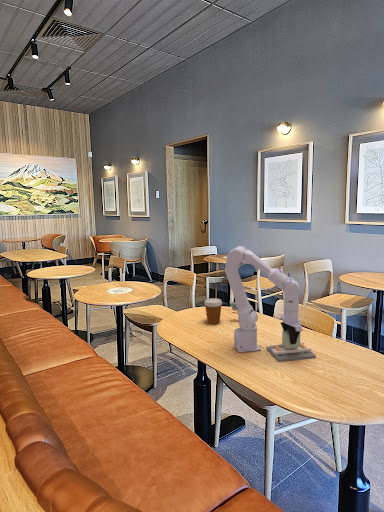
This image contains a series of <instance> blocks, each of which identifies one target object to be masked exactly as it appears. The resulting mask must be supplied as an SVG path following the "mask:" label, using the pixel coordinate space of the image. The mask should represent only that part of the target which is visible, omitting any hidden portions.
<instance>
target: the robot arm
mask: <svg viewBox="0 0 384 512" xmlns="http://www.w3.org/2000/svg"><path fill="white" fill-rule="evenodd" d="M225 261H226V262H225V266H224V272H225V274H226V277H227V280H228V284H229V286H230V289H231V292H232V294H233V298H234V300H235V302H236V304H237V305H236V306H237V307H238V311H237V312H238V313H237V316H239V320H238V325H239V327H237V328H235V329H234V332H233V335H234V336H233V338H234V340H233V342H234V343H233V346H234V348H236V351H238V353H243V352H244V353H245V352H255V351H261V348H260V346H259V345H258V325H257V324H256V322H257V321H258V320H259V319H258V313H257V312H256V311H255V310H254V308H253V306H252V305H251V303H250V302H249V299H248V296H247V292H246V290H245V287H244V285H243V281H242V278H241V276H240V273H239V271H238V269H239V268H240V266H241V265H242V264H244V265H245V264H246V265H247V264H249V265H252V266H254V267H255V268H256V269H258V270H260V271H261V272H262V273H263V274H265V275H266V276H267V280H268V281H270V282H271V283H272V284H274V285H275V286H276V287H277V288H279V289H280V290H282V293H283V294H284V298H283V314H281V316H280V318H281V319H280V320H282V321H281V322H280V325H281V327H282V331H287V330H288V333H289V338H290V344H296V342H297V338H298V336H299V334H300V335H301V332H302V331H303V328H302V325H301V321H302V319H300V318H299V306H300V304H299V302H300V301H299V295H300V294H299V290H300V283H299V282H298V281H297V279H294V278H292V277H291V276H290V277H289V276H288V275H287V274H285V273H284V272H283V269H281V268H277V267H276V268H272V267H271V266H270V265H268V263H266V262H265V261H264V260H262V258H260V257H259V256H258V255H256V254H255V253H254V252H253V251H252V250H250V249H247V248H246V246H243V245H238V246H235V248H233V249H232V248H231V249H230V251H229V252H228V254H227V255H226V260H225ZM249 303H250V304H249Z"/></svg>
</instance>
